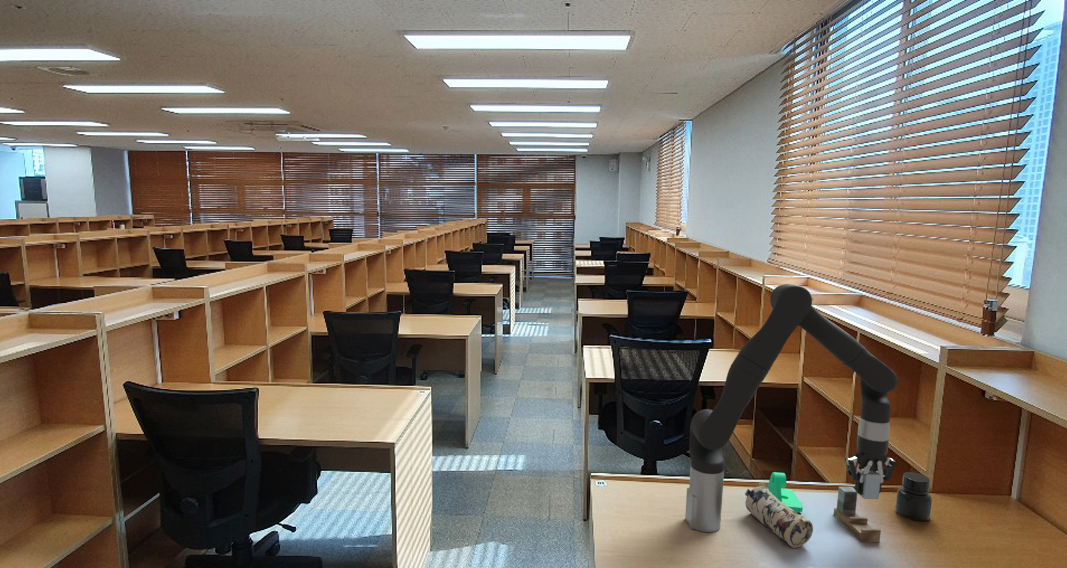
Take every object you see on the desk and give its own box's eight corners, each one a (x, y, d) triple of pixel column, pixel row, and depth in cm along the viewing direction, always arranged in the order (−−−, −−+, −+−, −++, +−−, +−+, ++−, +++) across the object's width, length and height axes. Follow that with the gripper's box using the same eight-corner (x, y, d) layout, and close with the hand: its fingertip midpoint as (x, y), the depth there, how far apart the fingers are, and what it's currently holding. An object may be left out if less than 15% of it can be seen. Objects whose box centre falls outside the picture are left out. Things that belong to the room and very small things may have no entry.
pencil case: (741, 513, 180) (743, 482, 179) (766, 510, 183) (768, 479, 181) (788, 554, 159) (791, 519, 158) (816, 550, 162) (819, 516, 160)
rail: (861, 541, 166) (864, 511, 165) (833, 514, 181) (836, 485, 180) (879, 542, 166) (882, 511, 165) (849, 514, 181) (852, 486, 180)
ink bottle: (938, 520, 179) (942, 482, 177) (916, 524, 176) (920, 486, 174) (908, 504, 188) (912, 468, 186) (887, 508, 185) (891, 471, 184)
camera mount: (803, 516, 180) (805, 483, 178) (776, 513, 181) (779, 481, 179) (791, 497, 191) (793, 466, 190) (766, 495, 192) (768, 464, 191)
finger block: (864, 498, 166) (866, 474, 165) (856, 491, 170) (858, 468, 169) (878, 499, 166) (880, 474, 165) (870, 492, 170) (872, 468, 169)
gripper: (855, 439, 162) (849, 500, 164) (907, 440, 162) (900, 500, 164) (840, 429, 169) (835, 487, 171) (890, 430, 170) (884, 487, 172)
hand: (867, 493), depth 168 cm, fingers closed on finger block, 4 cm apart
